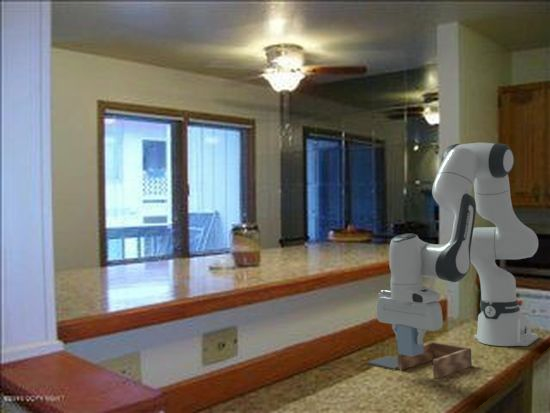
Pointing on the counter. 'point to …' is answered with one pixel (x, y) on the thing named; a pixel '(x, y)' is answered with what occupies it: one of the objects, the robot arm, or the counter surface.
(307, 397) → the counter surface
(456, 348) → the frame
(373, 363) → the pad
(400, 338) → the block
